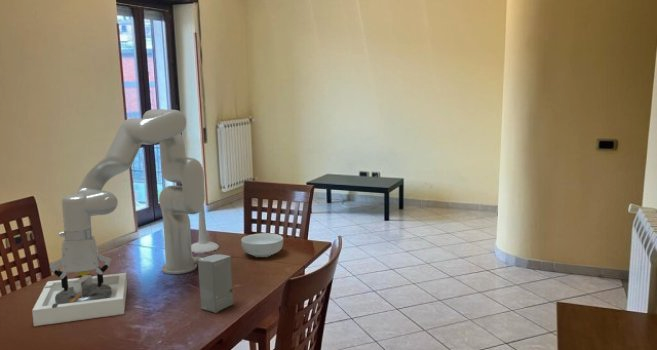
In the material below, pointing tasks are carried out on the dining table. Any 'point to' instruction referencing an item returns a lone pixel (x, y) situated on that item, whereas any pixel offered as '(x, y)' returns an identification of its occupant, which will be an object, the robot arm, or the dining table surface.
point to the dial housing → (57, 313)
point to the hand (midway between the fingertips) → (83, 287)
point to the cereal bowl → (262, 244)
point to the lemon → (83, 273)
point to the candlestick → (203, 237)
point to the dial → (83, 291)
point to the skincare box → (215, 282)
